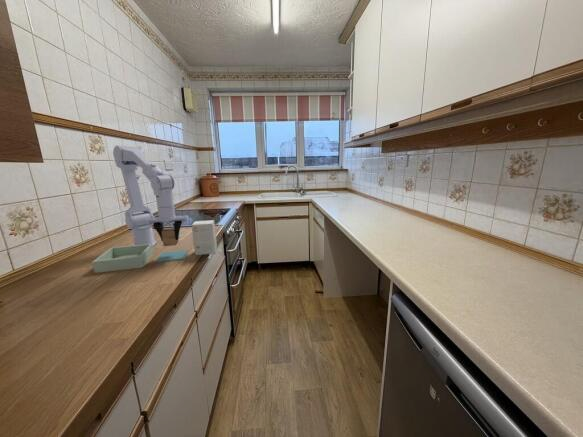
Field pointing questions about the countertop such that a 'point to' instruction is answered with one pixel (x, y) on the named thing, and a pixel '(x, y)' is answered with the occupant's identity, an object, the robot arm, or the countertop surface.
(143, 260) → the crate
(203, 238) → the small box
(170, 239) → the walnut block
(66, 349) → the countertop surface
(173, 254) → the teal mat
